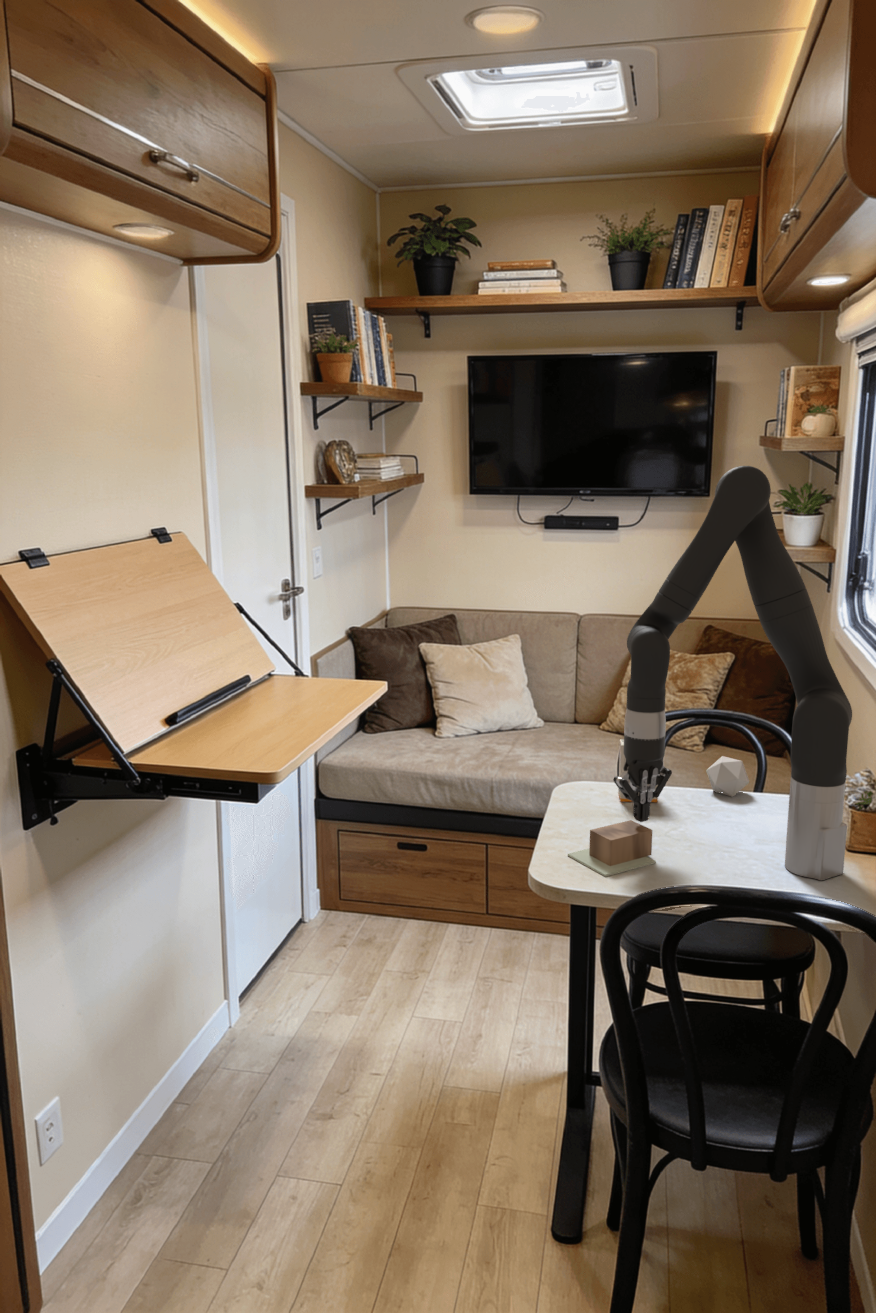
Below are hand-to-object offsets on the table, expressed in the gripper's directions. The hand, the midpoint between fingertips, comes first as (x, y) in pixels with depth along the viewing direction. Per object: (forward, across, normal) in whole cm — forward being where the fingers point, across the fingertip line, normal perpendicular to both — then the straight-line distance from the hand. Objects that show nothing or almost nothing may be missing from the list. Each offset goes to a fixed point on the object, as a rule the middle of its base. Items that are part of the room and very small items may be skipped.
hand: (641, 820), depth 188 cm
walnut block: (+4, 0, 0) cm, 4 cm away
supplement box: (+7, +20, +23) cm, 31 cm away
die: (+7, +40, +16) cm, 43 cm away
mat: (+6, -7, 0) cm, 9 cm away
